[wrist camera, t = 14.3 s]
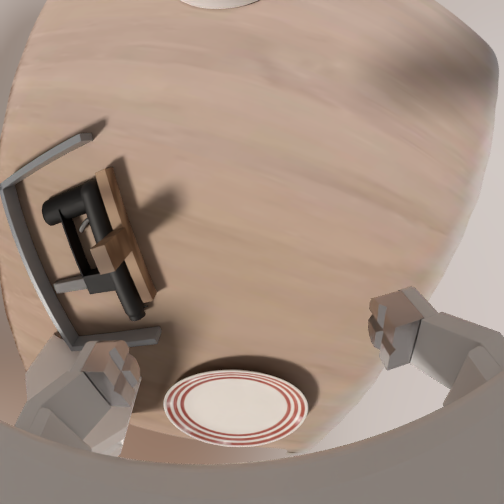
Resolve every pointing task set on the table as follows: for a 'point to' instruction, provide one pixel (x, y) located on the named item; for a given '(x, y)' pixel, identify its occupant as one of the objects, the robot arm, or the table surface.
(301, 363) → the table surface
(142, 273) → the walnut scraper
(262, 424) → the dinner plate
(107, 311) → the table surface
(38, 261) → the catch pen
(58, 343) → the white fork-shaped stand
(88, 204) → the black angular piece
